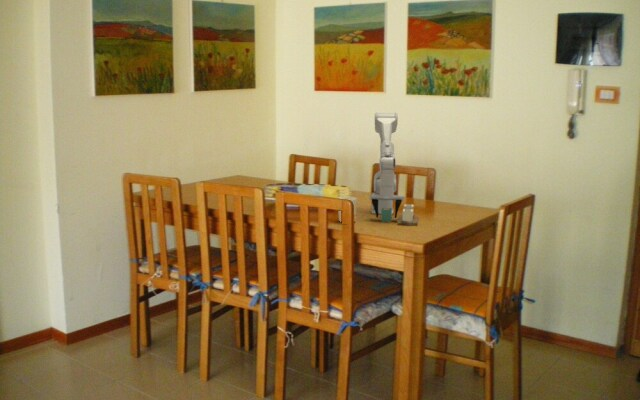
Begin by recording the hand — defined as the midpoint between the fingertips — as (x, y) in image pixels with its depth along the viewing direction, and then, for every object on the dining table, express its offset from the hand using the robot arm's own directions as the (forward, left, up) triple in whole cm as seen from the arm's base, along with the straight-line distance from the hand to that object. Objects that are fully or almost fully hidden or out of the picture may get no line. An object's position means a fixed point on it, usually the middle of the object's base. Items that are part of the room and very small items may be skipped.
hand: (386, 217), depth 289 cm
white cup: (-16, -5, -2) cm, 17 cm away
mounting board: (+9, 0, -1) cm, 9 cm away
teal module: (0, 0, -2) cm, 2 cm away
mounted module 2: (+9, -6, 0) cm, 11 cm away
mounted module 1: (+9, +6, 0) cm, 11 cm away
